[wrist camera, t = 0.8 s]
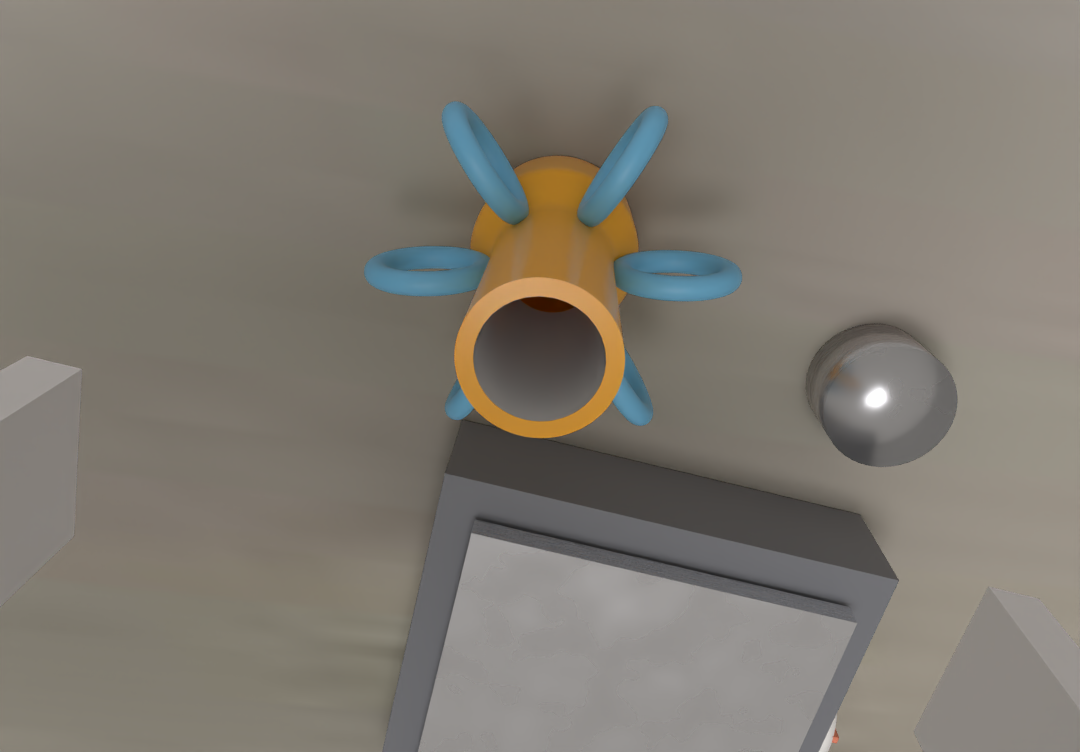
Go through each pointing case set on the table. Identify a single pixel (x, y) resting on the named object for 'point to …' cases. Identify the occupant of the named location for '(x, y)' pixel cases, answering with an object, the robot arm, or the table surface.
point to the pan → (623, 655)
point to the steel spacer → (880, 395)
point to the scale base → (637, 546)
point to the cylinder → (550, 282)
